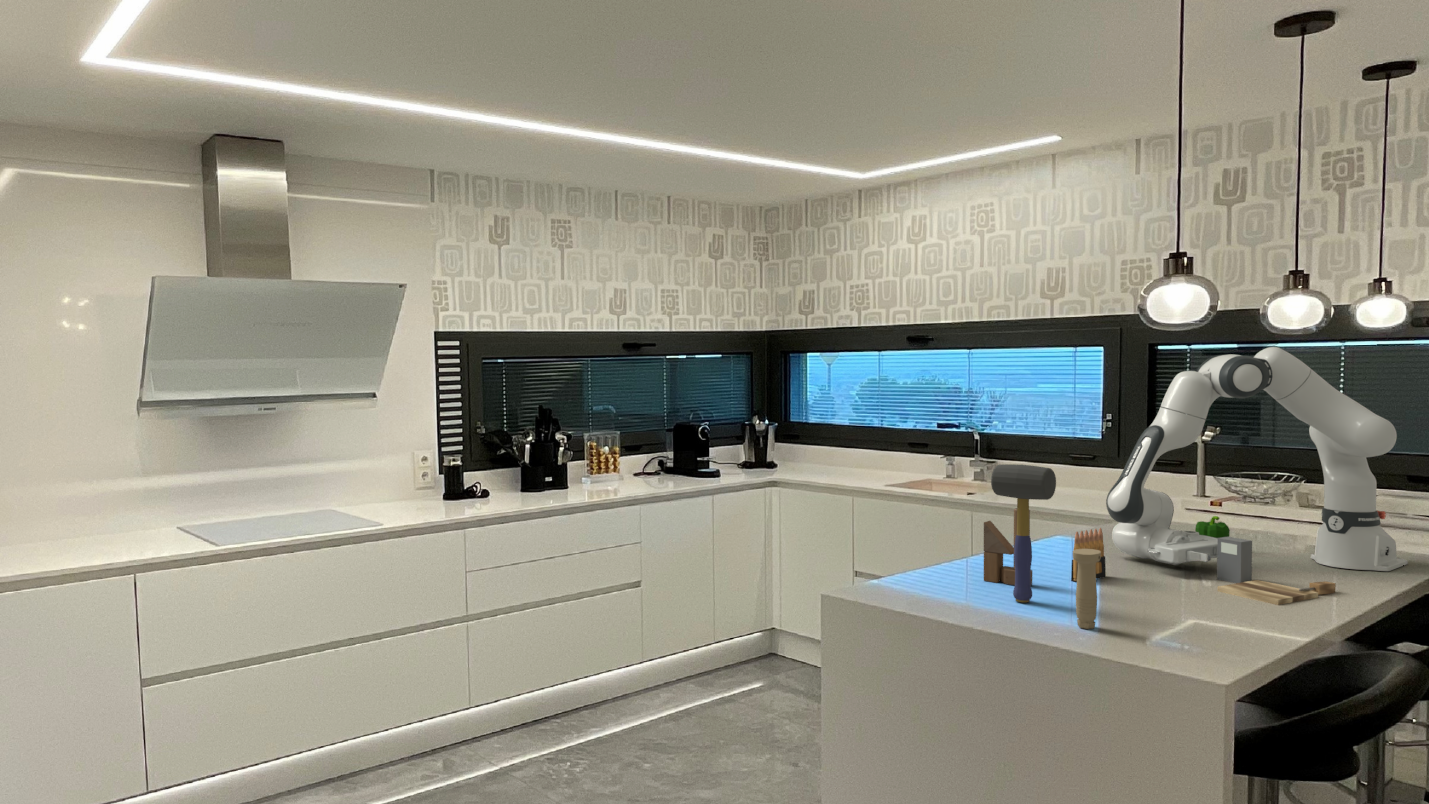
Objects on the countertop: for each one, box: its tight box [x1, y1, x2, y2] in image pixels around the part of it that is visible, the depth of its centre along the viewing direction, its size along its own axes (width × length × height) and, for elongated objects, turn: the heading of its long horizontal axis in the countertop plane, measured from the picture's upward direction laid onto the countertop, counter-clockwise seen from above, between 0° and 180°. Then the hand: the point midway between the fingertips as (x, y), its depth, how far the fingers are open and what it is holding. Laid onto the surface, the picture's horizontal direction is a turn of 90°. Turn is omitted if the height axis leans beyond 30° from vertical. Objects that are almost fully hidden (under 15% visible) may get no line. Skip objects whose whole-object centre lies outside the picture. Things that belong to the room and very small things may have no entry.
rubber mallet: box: [990, 463, 1057, 604], centre depth 207 cm, size 12×8×30 cm, turn 48°
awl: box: [1299, 581, 1337, 596], centre depth 212 cm, size 11×2×2 cm, turn 117°
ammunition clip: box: [1070, 527, 1107, 583], centre depth 229 cm, size 11×2×12 cm, turn 122°
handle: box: [1072, 549, 1101, 630], centre depth 187 cm, size 5×6×15 cm
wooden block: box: [983, 508, 1033, 586], centre depth 226 cm, size 4×11×18 cm, turn 49°
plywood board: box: [1217, 579, 1319, 606], centre depth 212 cm, size 14×14×1 cm
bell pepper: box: [1194, 515, 1231, 538], centre depth 261 cm, size 8×8×10 cm
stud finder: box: [1216, 536, 1253, 584], centre depth 226 cm, size 4×6×10 cm
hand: (1221, 556), depth 229 cm, fingers open, 8 cm apart
